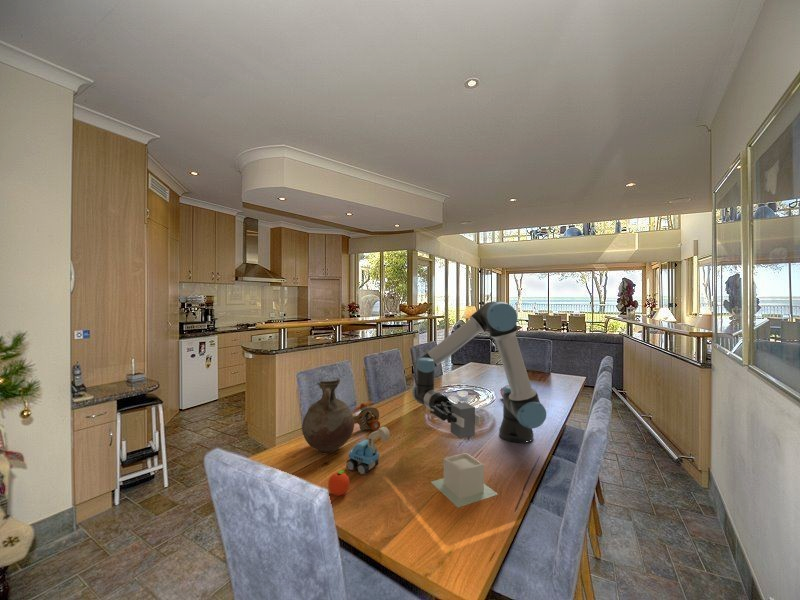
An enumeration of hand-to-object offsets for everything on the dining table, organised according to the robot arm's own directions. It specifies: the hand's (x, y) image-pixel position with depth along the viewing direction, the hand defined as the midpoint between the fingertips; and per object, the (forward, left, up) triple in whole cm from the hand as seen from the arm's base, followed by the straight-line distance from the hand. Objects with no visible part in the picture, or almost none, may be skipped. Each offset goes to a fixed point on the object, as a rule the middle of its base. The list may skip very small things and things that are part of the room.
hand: (471, 421), depth 116 cm
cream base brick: (+3, 0, -22) cm, 22 cm away
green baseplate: (+3, 0, -23) cm, 23 cm away
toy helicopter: (+27, -60, -23) cm, 70 cm away
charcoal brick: (+1, -5, -6) cm, 8 cm away
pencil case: (-68, -78, -23) cm, 106 cm away
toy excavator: (+31, -22, -23) cm, 44 cm away
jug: (+44, -44, -23) cm, 66 cm away
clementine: (+43, -10, -23) cm, 50 cm away
